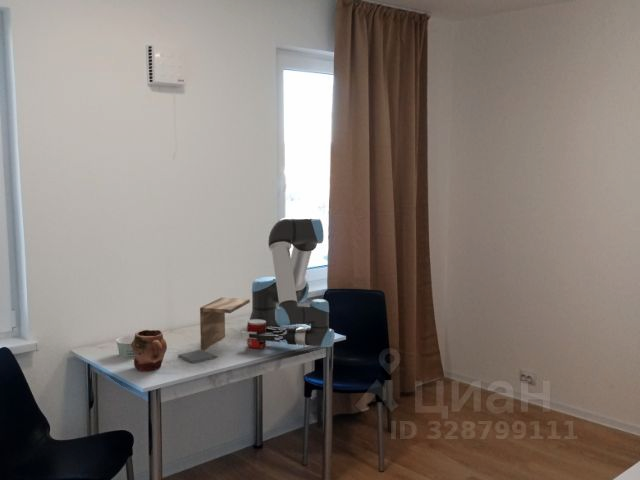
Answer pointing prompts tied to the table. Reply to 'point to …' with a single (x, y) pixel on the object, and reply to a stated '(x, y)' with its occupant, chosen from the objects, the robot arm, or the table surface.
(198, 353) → the rubber mat
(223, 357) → the table surface
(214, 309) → the walnut shelf
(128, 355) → the food container
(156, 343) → the terracotta animal pitcher
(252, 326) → the canned food
